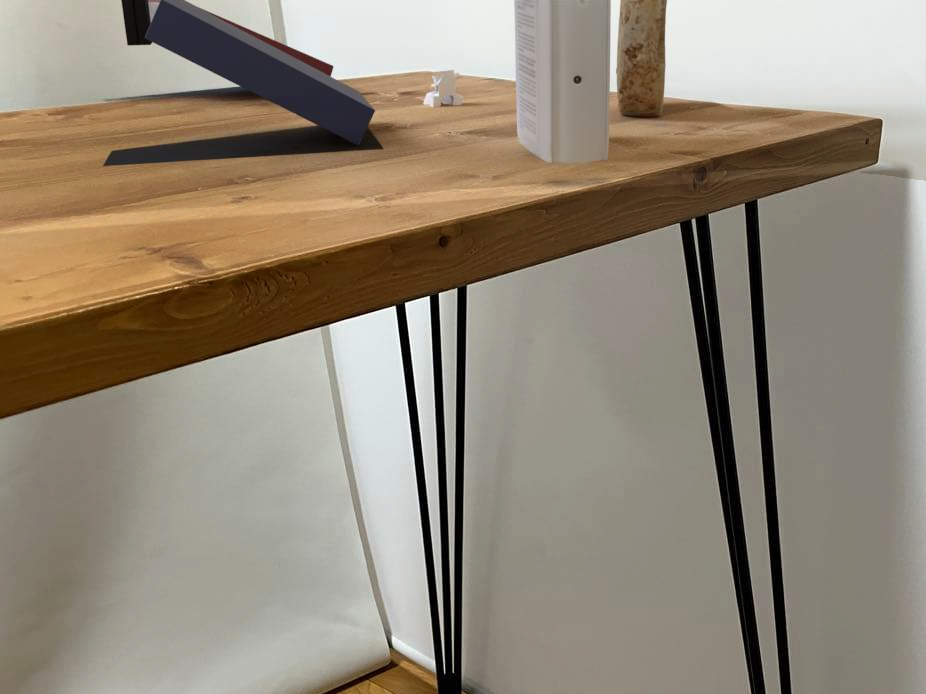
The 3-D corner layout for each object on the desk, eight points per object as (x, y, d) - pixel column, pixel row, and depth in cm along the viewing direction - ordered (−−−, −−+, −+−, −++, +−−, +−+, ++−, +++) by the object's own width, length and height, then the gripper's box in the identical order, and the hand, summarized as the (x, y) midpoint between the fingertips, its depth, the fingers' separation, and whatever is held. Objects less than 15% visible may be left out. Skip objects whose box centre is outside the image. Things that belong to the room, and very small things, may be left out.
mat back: (157, 122, 86) (156, 115, 86) (101, 105, 96) (100, 99, 95) (350, 100, 96) (349, 94, 96) (282, 87, 105) (281, 82, 105)
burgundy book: (173, 31, 86) (181, -1, 86) (127, 25, 94) (135, -4, 93) (325, 94, 96) (334, 66, 96) (273, 84, 103) (281, 58, 103)
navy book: (144, 38, 66) (161, -2, 65) (155, 26, 75) (169, -8, 74) (358, 145, 71) (375, 110, 71) (344, 123, 80) (359, 91, 80)
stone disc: (623, 108, 89) (624, -26, 85) (669, 108, 88) (673, -27, 84) (610, 129, 79) (611, -21, 75) (663, 129, 79) (666, -22, 75)
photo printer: (617, 169, 65) (620, -58, 61) (547, 174, 64) (543, -57, 60) (573, 141, 75) (572, -58, 70) (510, 145, 74) (505, -57, 69)
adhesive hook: (437, 114, 88) (435, 72, 86) (419, 110, 89) (417, 70, 88) (469, 110, 89) (467, 69, 88) (450, 106, 91) (448, 67, 90)
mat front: (103, 174, 67) (101, 166, 67) (122, 140, 78) (121, 133, 78) (385, 156, 71) (384, 149, 70) (363, 126, 82) (363, 119, 82)
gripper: (-62, -433, 57) (21, 50, 66) (200, -414, 60) (245, 46, 69) (-31, -393, 63) (41, 40, 72) (204, -378, 66) (244, 37, 75)
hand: (140, 43), depth 71 cm, fingers closed
